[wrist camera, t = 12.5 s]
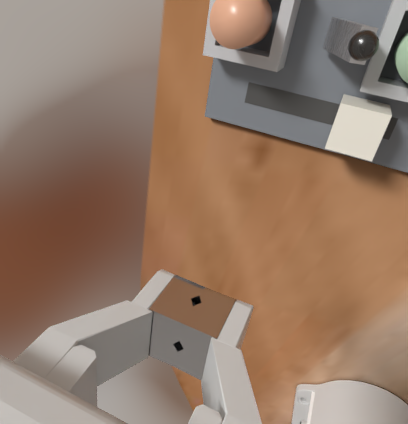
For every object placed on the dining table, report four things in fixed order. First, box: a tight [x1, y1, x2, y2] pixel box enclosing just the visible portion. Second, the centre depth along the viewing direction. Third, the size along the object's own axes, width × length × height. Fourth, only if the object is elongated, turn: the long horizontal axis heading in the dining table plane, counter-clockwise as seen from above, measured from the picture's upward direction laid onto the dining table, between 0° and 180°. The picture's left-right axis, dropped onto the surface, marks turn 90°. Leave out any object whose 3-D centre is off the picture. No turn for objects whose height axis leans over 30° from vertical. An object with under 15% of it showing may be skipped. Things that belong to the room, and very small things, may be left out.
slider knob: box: [325, 94, 392, 162], centre depth 31 cm, size 4×4×4 cm
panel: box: [203, 0, 408, 173], centre depth 31 cm, size 14×22×4 cm, turn 80°
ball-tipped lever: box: [323, 17, 379, 65], centre depth 27 cm, size 2×2×7 cm
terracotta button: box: [210, 0, 272, 49], centre depth 29 cm, size 4×4×4 cm
